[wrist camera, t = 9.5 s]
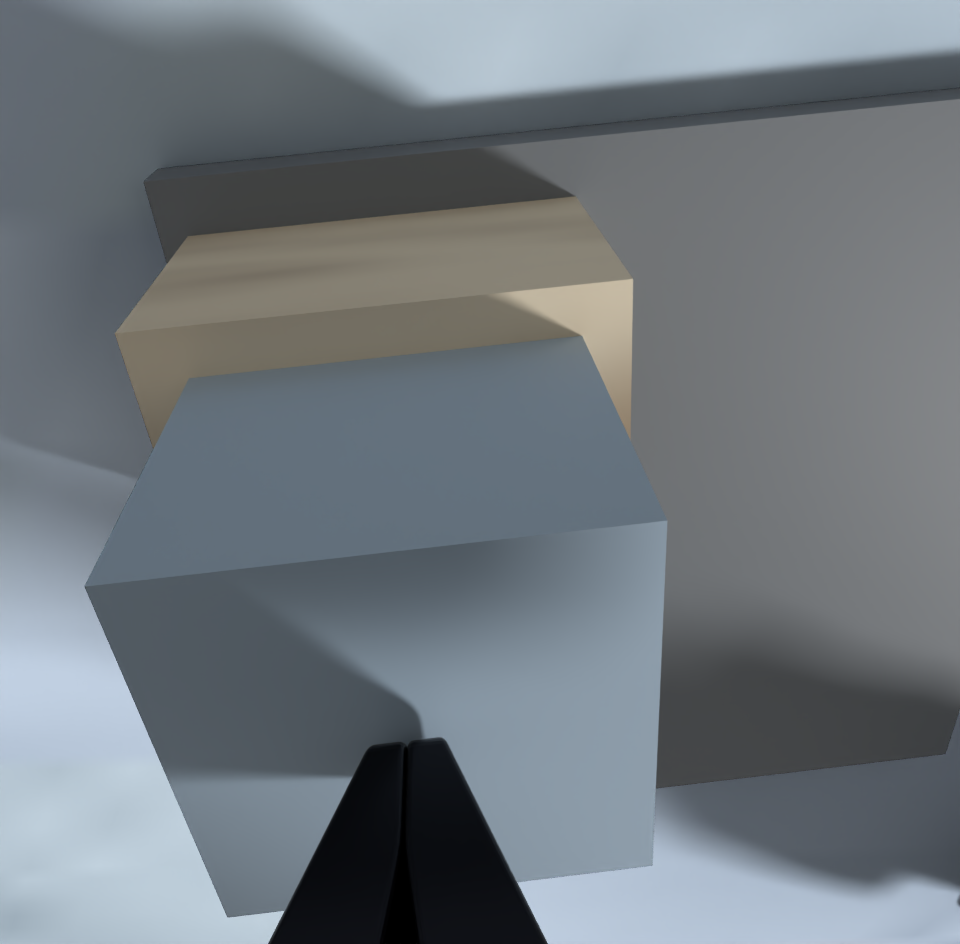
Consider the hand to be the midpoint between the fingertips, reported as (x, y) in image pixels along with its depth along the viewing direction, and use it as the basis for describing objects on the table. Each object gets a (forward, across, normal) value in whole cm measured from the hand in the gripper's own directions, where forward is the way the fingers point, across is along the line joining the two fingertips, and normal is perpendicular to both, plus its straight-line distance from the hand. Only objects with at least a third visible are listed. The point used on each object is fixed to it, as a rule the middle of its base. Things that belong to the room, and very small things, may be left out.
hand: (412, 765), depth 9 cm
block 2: (+5, 0, 0) cm, 5 cm away
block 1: (+9, 0, 0) cm, 9 cm away
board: (+10, -5, +4) cm, 12 cm away
